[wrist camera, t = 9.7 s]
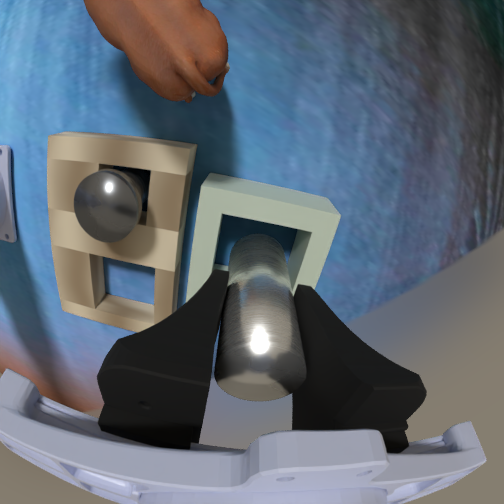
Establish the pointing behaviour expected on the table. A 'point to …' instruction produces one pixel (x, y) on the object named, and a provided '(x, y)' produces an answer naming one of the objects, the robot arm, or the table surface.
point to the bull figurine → (166, 43)
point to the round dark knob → (111, 202)
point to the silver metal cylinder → (259, 325)
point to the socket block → (136, 242)
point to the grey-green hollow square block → (266, 210)
